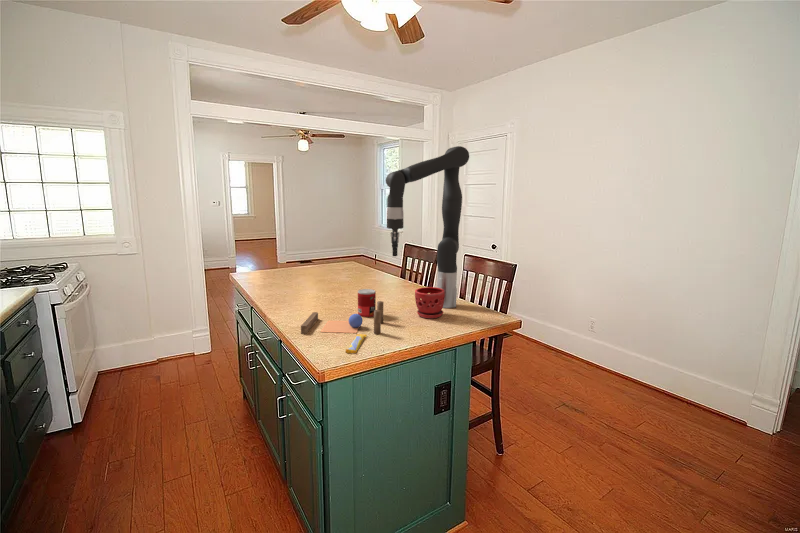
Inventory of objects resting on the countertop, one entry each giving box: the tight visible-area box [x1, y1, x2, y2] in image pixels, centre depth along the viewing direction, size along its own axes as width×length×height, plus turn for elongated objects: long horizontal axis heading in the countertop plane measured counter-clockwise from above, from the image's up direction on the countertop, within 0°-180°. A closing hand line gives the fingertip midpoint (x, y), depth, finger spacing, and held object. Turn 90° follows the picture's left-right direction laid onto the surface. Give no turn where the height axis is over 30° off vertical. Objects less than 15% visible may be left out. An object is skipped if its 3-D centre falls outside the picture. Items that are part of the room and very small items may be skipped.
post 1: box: [376, 300, 384, 325], centre depth 158 cm, size 3×3×9 cm
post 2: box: [373, 309, 382, 335], centre depth 145 cm, size 3×3×9 cm
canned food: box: [357, 288, 377, 318], centre depth 168 cm, size 8×8×11 cm
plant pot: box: [414, 286, 445, 320], centre depth 168 cm, size 13×13×12 cm
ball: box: [348, 313, 364, 329], centre depth 152 cm, size 6×6×6 cm
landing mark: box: [320, 320, 360, 334], centre depth 153 cm, size 14×14×1 cm
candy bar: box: [345, 333, 368, 354], centre depth 134 cm, size 17×4×2 cm, turn 173°
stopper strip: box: [300, 311, 319, 335], centre depth 153 cm, size 2×18×3 cm, turn 178°
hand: (394, 256), depth 171 cm, fingers closed
